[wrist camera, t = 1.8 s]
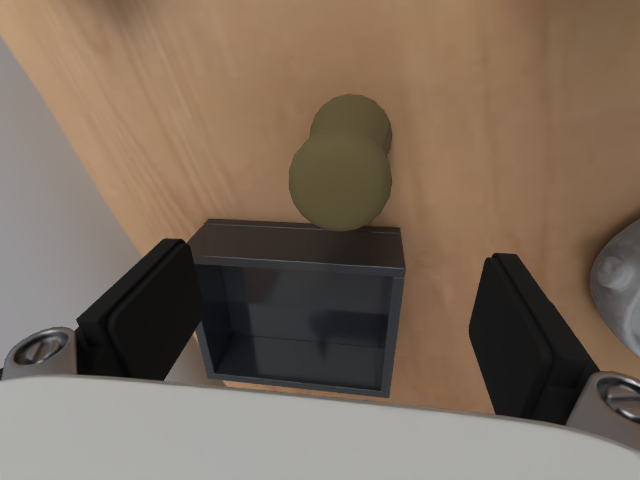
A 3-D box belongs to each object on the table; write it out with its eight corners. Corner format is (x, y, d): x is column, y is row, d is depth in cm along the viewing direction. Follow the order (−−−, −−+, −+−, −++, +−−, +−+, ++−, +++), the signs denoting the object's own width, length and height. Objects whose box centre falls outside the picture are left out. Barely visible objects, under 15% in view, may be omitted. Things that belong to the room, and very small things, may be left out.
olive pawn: (314, 179, 28) (282, 250, 18) (305, 97, 25) (263, 132, 15) (391, 175, 27) (401, 249, 17) (392, 90, 24) (404, 122, 14)
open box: (208, 218, 31) (175, 254, 26) (400, 227, 29) (405, 268, 23) (230, 332, 37) (207, 378, 32) (386, 346, 35) (389, 398, 30)
